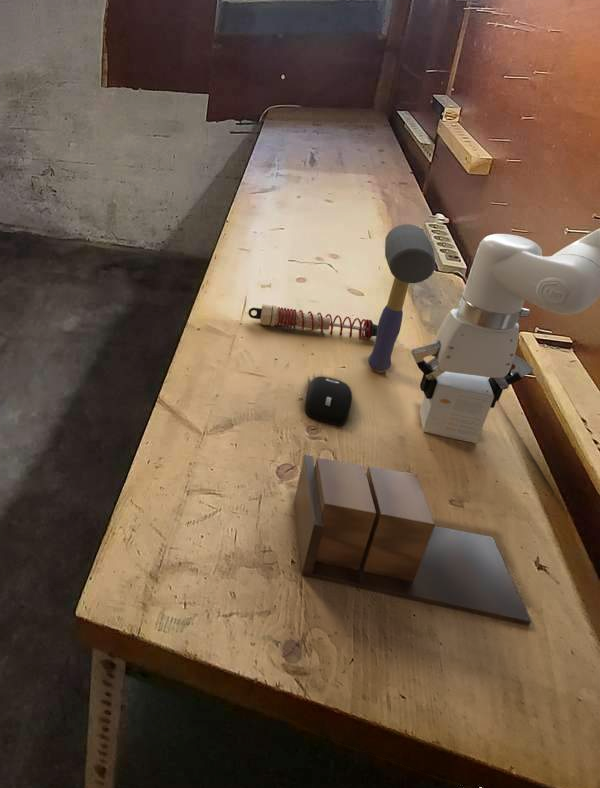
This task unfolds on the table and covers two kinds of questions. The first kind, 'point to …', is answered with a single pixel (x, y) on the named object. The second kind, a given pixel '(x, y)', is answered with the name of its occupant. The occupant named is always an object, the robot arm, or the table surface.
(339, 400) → the portable bluetooth speaker
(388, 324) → the rubber mallet
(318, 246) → the table surface
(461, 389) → the small box
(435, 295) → the table surface
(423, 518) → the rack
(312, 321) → the shock absorber
